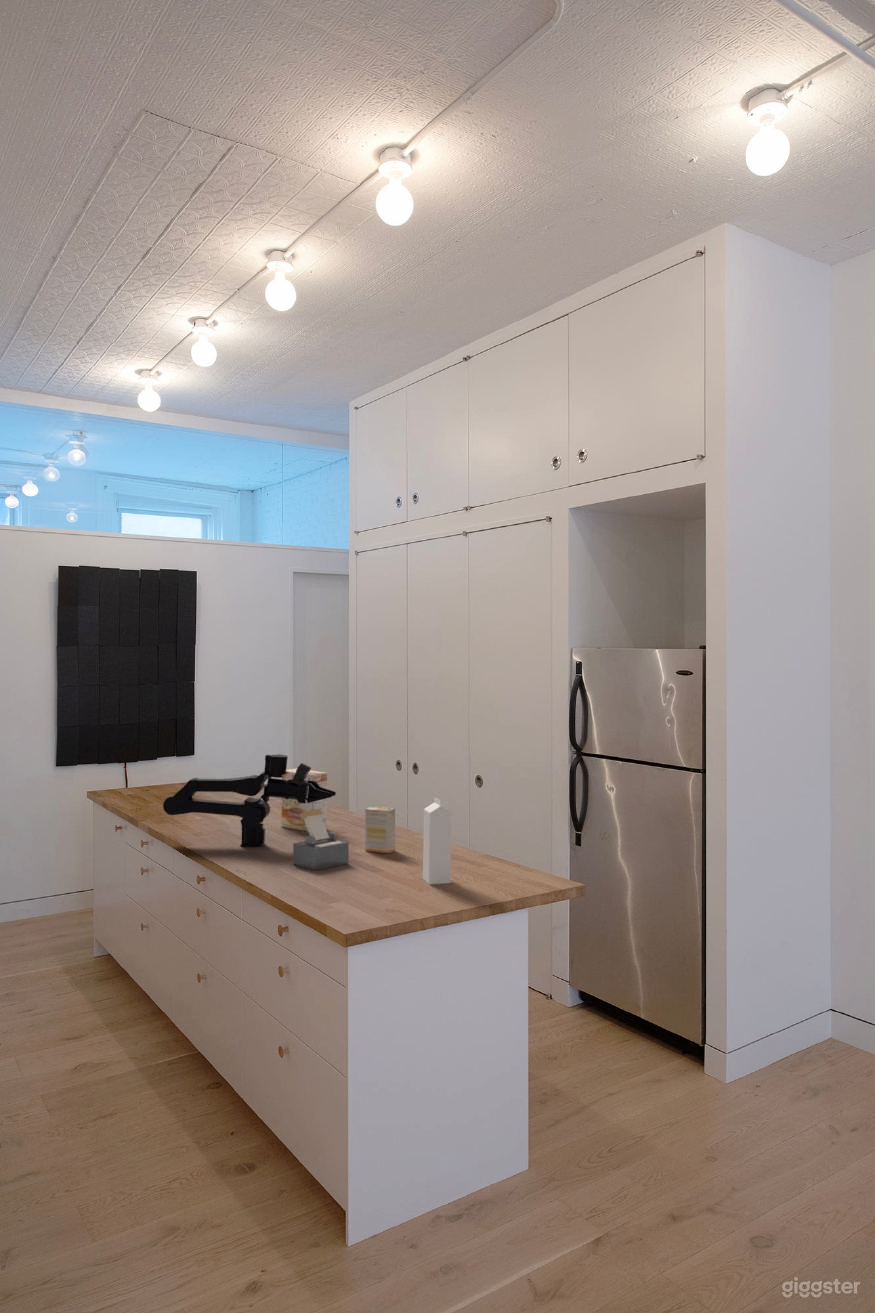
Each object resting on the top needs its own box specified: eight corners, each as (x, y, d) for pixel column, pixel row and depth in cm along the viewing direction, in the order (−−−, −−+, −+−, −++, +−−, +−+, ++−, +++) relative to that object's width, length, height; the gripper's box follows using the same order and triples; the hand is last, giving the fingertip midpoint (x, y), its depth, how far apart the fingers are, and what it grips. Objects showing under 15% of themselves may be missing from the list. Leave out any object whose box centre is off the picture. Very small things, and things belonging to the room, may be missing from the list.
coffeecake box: (280, 827, 304) (281, 770, 304) (295, 823, 310) (295, 768, 309) (312, 832, 295) (313, 774, 295) (327, 829, 301) (327, 771, 301)
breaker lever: (310, 843, 251) (299, 815, 254) (327, 840, 255) (316, 812, 259) (315, 839, 249) (304, 811, 253) (331, 836, 254) (320, 808, 257)
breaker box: (293, 864, 251) (293, 834, 251) (326, 857, 260) (326, 829, 260) (315, 870, 245) (315, 840, 244) (348, 863, 253) (348, 834, 253)
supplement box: (395, 850, 270) (396, 808, 270) (388, 854, 265) (388, 810, 265) (372, 848, 273) (372, 805, 273) (364, 851, 269) (364, 808, 269)
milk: (429, 885, 231) (429, 801, 231) (422, 879, 237) (423, 797, 237) (451, 883, 233) (451, 800, 233) (444, 877, 239) (444, 796, 239)
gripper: (282, 763, 267) (333, 769, 267) (292, 762, 286) (340, 768, 286) (277, 800, 266) (329, 806, 266) (287, 797, 285) (336, 802, 284)
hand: (333, 794), depth 276 cm, fingers open, 9 cm apart
